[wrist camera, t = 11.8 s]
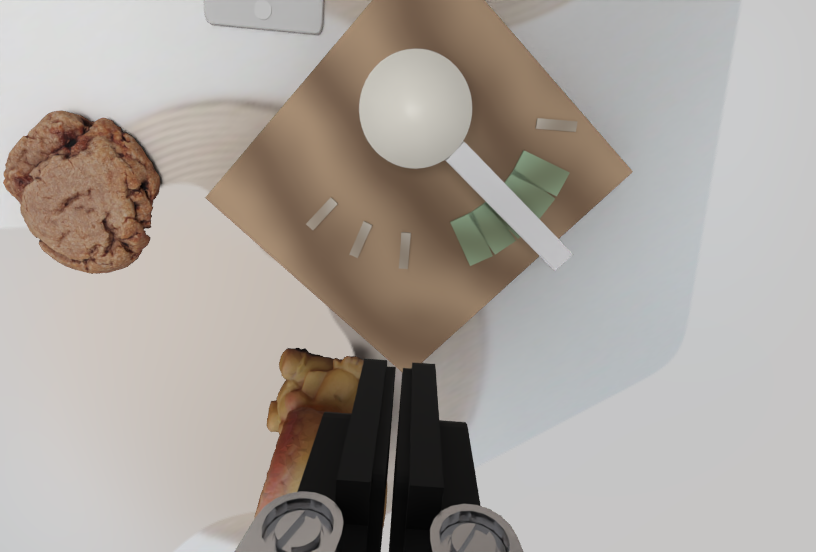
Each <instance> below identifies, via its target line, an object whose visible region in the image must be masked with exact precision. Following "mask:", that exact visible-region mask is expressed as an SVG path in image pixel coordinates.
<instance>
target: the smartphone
mask: <svg viewBox="0 0 816 552" xmlns="http://www.w3.org/2000/svg"><path fill="white" fill-rule="evenodd" d="M204 13H205V17H206V20H207V22H208V23H210V24H212V25H220V26H230V27H241V28H251V29H262V30H272V31H283V32H293V33H304V34H314V35H319V34H320V33H321V32H322V28H323V17H324V0H204Z"/></svg>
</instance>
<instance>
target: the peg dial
mask: <svg viewBox="0 0 816 552" xmlns="http://www.w3.org/2000/svg"><path fill="white" fill-rule="evenodd" d="M359 115H360V122H361V126H362V129H363V132H364V135H365V136H366V138H367V140H368V142H369V143H370V145H371V146H372V148H373V149H374V150H375V151H376V152H377V153H378V154H379V155H380V156H381V157H383V158H384V159H386V160H387V161H389V162H391V163H393V164H395V165H398V166H401V167H405V168H414V169H417V168H426V167H430V166H433V165H436V164H438V163H440V162H442V161H444V160H445V161H446V162H447V163H448V164H449V165H450V166H451V167H452V168H453V169H454V170H455V171H456V172H457V173H458V174H459V175H460V176H461V177H462V178H463V179H464V180H465V181H466V182H467V183H468V184H469V185H470V186H471V187H472V188H473V189H474V190H475V191H476V192H477V193H478V194H479V195H480V196H481V197H482V198H483V199H484V200H485V201H486V202H487V203H488V204H489V205H490V206H491V207H492V208H493V209H494V210H495V211H496V212H497V214H498V215H499V216H500V217H501V218H502V219H503V220H504V221H505V222H506V223H507V224H508V225H509V226H510V227H511V228H512V229H513V230H514V231H515V232H516V233H517V234H518V235H519V236H520V237H521V238H522V239H523V240H524V241H525V242H526V243H527V244H528V245H529V246H530V247H531V248H532V249H533V250H534V251H535V252H536V253H537V254H538V255H539V256H540V257H541V258H542V259H543V260H544V261H545V262H546V263H547V264H548V265H549V266H550V267H551V268H552V269H553V270H554V271H556V270H557V269H558V268H559V267H560V266H561V265H562V264H563V263H564V262H566V261H567V260H568V259H569V258H570V257H571V256H572V255H573V253H572V252H571V251H570V250H569V249H568V248H567V247H566V246H565V245H564V244H563V243H562V242H561V241H560V240H559V239H558V238H557V237H556V236H555V235H554V234H553V233H552V232H551V231H550V230H549V229H548V228H547V227H546V226H545V224H544V223H543V222H542V221H541V220H540V219H539V218H538V217H537V216H536V215H535V214H534V213H533V212H532V211H531V210H530V209H529V208H528V207H527V206H526V205H525V204H524V203H523V202H522V201H521V200H520V199H519V198H518V197H517V195H516V194H515V193H514V192H513V191H512V190H511V189H510V188H509V187H508V186H507V185H506V184H505V183H504V182H503V181H502V180H501V179H500V178H499V177H498V176H497V175H496V174H495V173H494V172H493V171H492V170H491V169H490V168H489V166H488V165H487V164H486V163H485V162H484V161H483V160H482V159H481V158H480V157H479V156H478V155H477V154H476V153H475V152H474V151H473V150H472V149H471V148H470V147H469V146H468V145H467V144H466V143H465V142H464V141H463V140H464V139H465V137H466V134H467V132H468V129H469V127H470V123H471V118H472V99H471V93H470V90H469V87H468V84H467V82H466V80H465V78H464V76H463V75H462V73H461V72H460V71H459V69H458V68H457V67H456V66H455V65H454V64H453V63H452V62H451V61H450V60H448V59H447V58H446V57H444V56H442V55H440V54H438V53H436V52H433V51H430V50H425V49H406V50H402V51H399V52H396V53H394V54H392V55H390V56H388V57H386V58H385V59H384V60H382V61H381V62H380V63H379V64H378V65H377V66H376V67H375V68H374V69H373V70H372V71H371V73H370V74H369V76H368V78H367V79H366V81H365V83H364V86H363V88H362V92H361V96H360V102H359Z"/></svg>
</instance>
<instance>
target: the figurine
mask: <svg viewBox="0 0 816 552" xmlns="http://www.w3.org/2000/svg"><path fill="white" fill-rule="evenodd" d="M363 362H364V361H363V360H362V359H360V358H358V357H356V356H353V357H350V356H346V357H344V359H343V360H339V359H337V358H335V359H332V358H329V357H323V356H320V355H315V354H311V353H309V352H308V351H307V350H306V349H302V350H301V349H299V348H296V349H290V348H288V349H286V350H285V351H284V352H283V354H282V356H281V359H280V362H279V367H280V371H281V373H282V376H283V377H284V378H285V379H286V381H285V382H284V384H283V386H282V387H281V389H280V392H279V393H278V397H277V400H276V401H271V404H270V407H269V413H268V418H267V427H268V429H269V430H270V431H271V432H279V434H280V436H279V439H278V441H277V444H276V449H275V452H274V454H273V457H272V460H271V465H270V468H269V471H268V473H267V479H266V482H265V483H264V487H263V490H262V493H261V495H260V499H259V503H258V507H257V510H256V513H255V517H256V516H257V515H258V514H259V512H260V511H261V510H262V509H263V508H264V506H266V505H267V504H269V503H270V502H271V501H273V500H274V499H276V498H278V497H281V496H283V495H286V494H288V493H294V492H297V491H298V488H299V485H300V482H301V479H302V476H303V473H304V470H305V467H306V464H307V461H308V458H309V455H310V452H311V449H312V446H313V443H314V440H315V437H316V434H317V431H318V428H319V425H320V422H321V419H322V416H323V414H324V412H338V413H351V414H352V409H353V405H354V401H355V397H356V392H357V388H358V384H359V379H360V375H361V371H362V366H363ZM386 503H387V485H386V496H385V508H384V519H385V513H386ZM254 519H255V518H254ZM384 519H383V526H384Z"/></svg>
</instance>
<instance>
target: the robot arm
mask: <svg viewBox="0 0 816 552" xmlns="http://www.w3.org/2000/svg"><path fill="white" fill-rule="evenodd" d="M395 369H396V367H387V360H375V359H364V362H363V366H362V371H361V375H360V379H359V384H358V388H357V392H356V397H355V401H354V405H353V409H352V414H351V413H338V412H324V414H323V416H322V419H321V422H320V425H319V428H318V431H317V434H316V437H315V440H314V443H313V446H312V449H311V452H310V455H309V458H308V461H307V464H306V467H305V470H304V473H303V476H302V479H301V482H300V485H299V488H298V491H297V492H294V493H288V494H286V495H283V496H281V497H278V498H276V499H274V500H273V501H271V502H270V503H269V504H267V505H266V506H264V508H263V509H262V510H261V511H260V512H259V514H258V515H257V516H256V517H255V519H254V521H253V522H252V524H251V526H250V527H249V529H248V531H247V532H246V534H245V535H244V537H243V539H242V540H241V542H240V544H239V545H238V547H237V548H236V550H235V552H381V541H382V530H383V519H384V508H385V496H386V485H387V474H388V461H389V448H390V435H391V422H392V409H393V395H394V382H395ZM389 552H523V549H522V547H521V545H520V542H519V540H518V537H517V535H516V534H515V532H514V530H513V529H512V527H511V526H510V524H509V523H508V522H507V521H505V519H503V518H502V517H501V516H500V515H498V514H497V513H495V512H493V511H492V510H490V509H487V508H485V507H481V506H480V501H479V495H478V488H477V482H476V476H475V469H474V463H473V457H472V451H471V445H470V439H469V433H468V427H467V424H466V423H465V422H453V421H441V420H439V411H438V397H437V383H436V369H435V364H426V363H413V362H412V368H403V373H402V385H401V397H400V409H399V422H398V434H397V446H396V459H395V471H394V485H393V500H392V515H391V529H390V544H389Z"/></svg>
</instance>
